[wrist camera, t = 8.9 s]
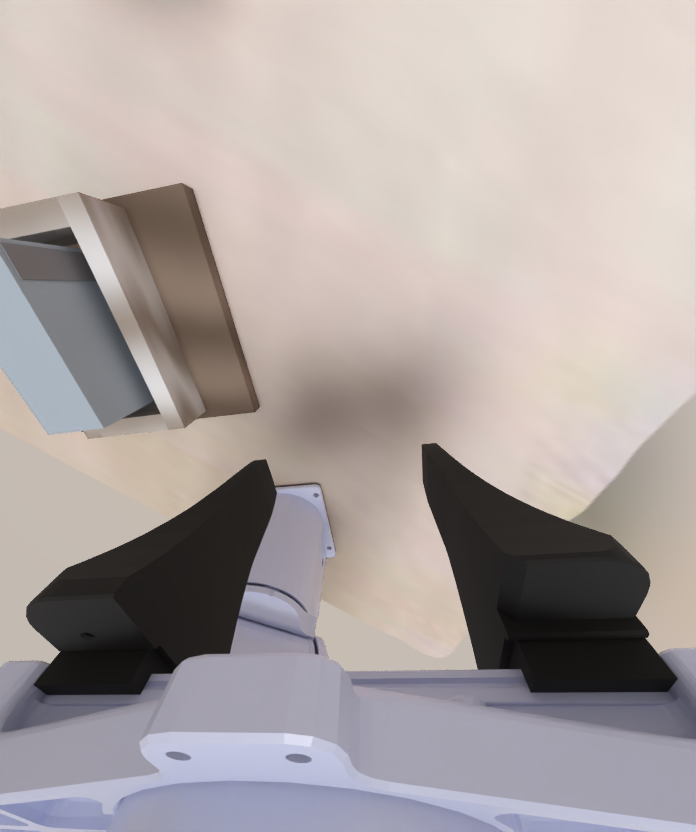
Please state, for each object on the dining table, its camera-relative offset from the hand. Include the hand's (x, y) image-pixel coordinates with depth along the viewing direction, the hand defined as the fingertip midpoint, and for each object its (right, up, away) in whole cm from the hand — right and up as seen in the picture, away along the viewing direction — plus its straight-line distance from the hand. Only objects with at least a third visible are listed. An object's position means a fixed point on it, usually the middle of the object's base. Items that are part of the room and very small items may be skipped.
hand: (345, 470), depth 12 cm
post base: (-15, +9, +7) cm, 19 cm away
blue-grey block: (-15, +8, +6) cm, 19 cm away
